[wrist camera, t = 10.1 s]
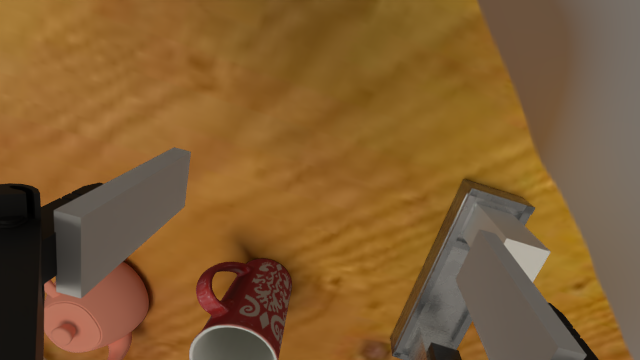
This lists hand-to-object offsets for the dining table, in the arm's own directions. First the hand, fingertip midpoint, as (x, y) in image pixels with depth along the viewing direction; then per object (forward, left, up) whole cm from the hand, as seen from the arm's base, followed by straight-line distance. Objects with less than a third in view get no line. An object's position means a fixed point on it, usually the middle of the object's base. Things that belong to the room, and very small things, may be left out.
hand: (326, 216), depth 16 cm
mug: (+22, -5, -26) cm, 34 cm away
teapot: (+33, -24, -26) cm, 48 cm away
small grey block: (+6, +18, -23) cm, 30 cm away
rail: (+14, +18, -25) cm, 34 cm away
